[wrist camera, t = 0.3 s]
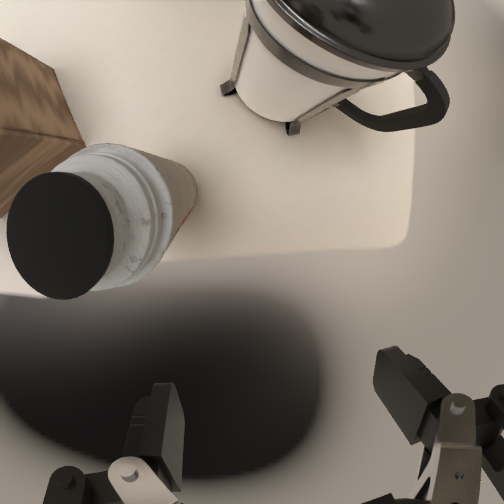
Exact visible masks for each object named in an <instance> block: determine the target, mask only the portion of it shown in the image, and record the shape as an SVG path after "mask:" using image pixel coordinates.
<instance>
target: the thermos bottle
mask: <svg viewBox="0 0 504 504" xmlns="http://www.w3.org/2000/svg"><path fill="white" fill-rule="evenodd" d="M195 200H196V184H195V181H194V179H193V176H192V175H191V173H190V172H189V171H188V170H187V169H186V168H185V167H184V166H182V165H181V164H179V163H176V162H173V161H170V160H167V159H164V158H161V157H158V156H155V155H152V154H149V153H146V152H143V151H140V150H137V149H133V148H130V147H127V146H124V145H119V144H110V143H105V144H96V145H92V146H89V147H86V148H83V149H81V150H79V151H78V152H76V153H74V154H73V155H71V156H70V157H69V158H68V159H67V160H65V161H64V162H62V163H60V164H59V165H57V166H56V167H55V168H54V169H53V170H52V171H51V172H48V173H43V174H40V175H38V176H36V177H33V178H32V179H31V180H29V181H28V182H27V183H25V184H24V186H23V187H22V188H21V189H20V190H19V191H18V193H17V194H16V196H15V198H14V200H13V202H12V204H11V207H10V210H9V214H8V219H7V242H8V248H9V251H10V255H11V258H12V260H13V263H14V265H15V267H16V269H17V270H18V272H19V273H20V275H21V276H22V278H23V279H24V280H25V281H26V282H27V283H28V284H29V285H30V286H31V287H32V288H33V289H35V290H36V291H37V292H39V293H41V294H43V295H45V296H47V297H50V298H54V299H63V300H64V299H65V300H67V299H72V298H77V297H79V296H81V295H83V294H85V293H86V292H88V291H101V290H105V289H110V288H116V287H121V286H126V285H129V284H131V283H134V282H136V281H138V280H140V279H141V278H143V277H144V276H145V275H147V274H148V273H149V272H151V270H152V269H153V268H154V267H155V266H156V265H157V264H158V263H159V262H160V260H161V258H162V257H163V255H164V253H165V252H166V250H167V248H168V247H169V245H170V243H171V242H172V240H173V238H174V237H175V235H176V233H177V232H178V230H179V229H180V227H181V225H182V224H183V222H184V221H185V219H186V217H187V216H188V214H189V213H190V211H191V209H192V208H193V206H194V203H195Z"/></svg>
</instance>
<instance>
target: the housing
mask: <svg viewBox="0 0 504 504" xmlns="http://www.w3.org/2000/svg"><path fill="white" fill-rule="evenodd" d="M85 147H86V146H85V144H84V142H83V139H82V137H81V135H80V133H79V131H78V128H77V126H76V124H75V121H74V119H73V117H72V114H71V112H70V110H69V107H68V105H67V103H66V100H65V98H64V95H63V93H62V90H61V88H60V85H59V82H58V80H57V77H56V75H55V72H54V69H52V68H51V67H49V66H47V65H46V64H44V63H42V62H41V61H39V60H37V59H36V58H34V57H32V56H31V55H29V54H27V53H26V52H24V51H22V50H20V49H19V48H17V47H15V46H13V45H12V44H10V43H8V42H6V41H5V40H3V39H1V38H0V218H2V217H3V216H4V215H5V214H6V213H7V212H8V211H9V210H10V207H11V204H12V202H13V200H14V198H15V196H16V194H17V193H18V191H19V190H20V189H21V188H22V187H23V186H24V184H25V183H27V182H28V181H29V180H31V179H32V178H33V177H36V176H38V175H40V174H43V173H48V172H51V171H52V170H53V169H54V168H55V167H56V166H57V165H59V164H60V163H62V162H64V161H65V160H67V159H68V158H69V157H70V156H71V155H73V154H74V153H76V152H78V151H79V150H81V149H83V148H85Z"/></svg>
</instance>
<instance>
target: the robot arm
mask: <svg viewBox="0 0 504 504" xmlns="http://www.w3.org/2000/svg"><path fill="white" fill-rule="evenodd" d="M373 385H374V389H375V392H376V393H377V395H378V396H379V398H380V399H381V401H382V402H383V404H384V405H385V407H386V408H387V409H388V411H389V413H390V414H391V416H392V417H393V419H394V420H395V422H396V423H397V425H398V426H399V428H400V429H401V431H402V432H403V433H404V435H405V437H406V438H407V439H408V441H409V443H410V444H411V445H413V444H415V443H418V442H420V441H422V443H423V444H424V445H423V447H422V450H421V455H420V460H419V465H418V470H417V473H416V477H415V482H414V485H413V488H412V490H411V493H410V495H409V497H408V498H403V499H394V498H393V496H392V494H391V493H389V494H387V495H384V496H382V497H379V498H376V499H373V500H371V501H368V502H365V503H362V504H478V501H479V492H480V481H481V467H482V468H483V470H484V471H485V473H486V474H487V476H488V477H489V479H490V480H491V482H492V483H493V485H494V486H495V488H496V489H497V491H498V492H499V494H500V496H501V497H502V499H503V501H504V438H503V437H502V436H501V433H502V431H503V430H504V384H503V385H497V386H495V387H494V388H493V389H492V391H491V392H490V395H489V397H486V398H482V399H476V400H472V399H471V398H470V397H469V396H467V395H465V394H461V393H453V394H452V393H451V392H450V391H449V390H448V389H447V388H446V387H445V386H444V385H443V384H442V383H441V382H440V381H439V380H438V379H437V377H436V376H435V375H434V374H432V373H431V371H430V370H429V369H428V368H426V366H425V365H424V364H423V363H422V362H421V361H420V360H419V359H418V358H415V357H414V356H412V355H410V354H407V355H405V354H404V353H403V352H402V351H401V350H400V348H399V347H397V346H392V347H389V348H385V349H382V350H379V351H378V352H377V357H376V364H375V370H374V376H373ZM184 427H185V422H184V414H183V410H182V407H181V404H180V400H179V398H178V394H177V391H176V388H175V385H174V383H160V384H154V385H153V388H152V392H151V396H150V397H142V398H141V399H140V401H139V402H138V403H137V404H136V405H135V407H134V411H133V415H132V419H131V422H130V427H129V430H128V434H127V438H126V442H125V447H124V451H123V455H122V458H120V459H118V460H116V461H115V462H114V463H113V464H112V465H111V466H110V468H109V470H107V471H104V472H98V473H91V474H83V472H82V471H81V470H80V469H78V468H76V467H73V466H64V467H61V468H59V469H57V470H56V471H54V473H53V474H52V475H51V477H50V480H49V483H48V487H47V490H46V494H45V497H44V501H43V504H183V503H180V502H179V501H178V500H177V499H176V498H175V496H174V495H173V494H172V491H175V492H176V491H177V492H180V491H181V478H182V459H183V442H184Z"/></svg>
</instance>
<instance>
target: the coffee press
mask: <svg viewBox="0 0 504 504" xmlns="http://www.w3.org/2000/svg"><path fill="white" fill-rule="evenodd" d="M454 23H455V7H454V1H453V0H246V10H245V14H244V19H243V23H242V27H241V32H240V36H239V41H238V46H237V50H236V55H235V60H234V65H233V69H232V74H231V78H230V80H228V81H227V82H225V83H223V84H222V85H220V88H221V92H222V96H229V95H232V94H235V93H238V95H239V96H240V98H241V99H242V101H243V102H244V103H245V104H246V105H247V106H248V107H249V108H250V109H251V110H252V111H254V112H255V113H257V114H259V115H260V116H262V117H265V118H267V119H270V120H274V121H280V122H285V128H286V132H287V135H288V136H290V135H295V134H299V133H300V125H301V123H302V122H303V121H304V120H306V119H308V118H310V117H312V116H315V115H317V114H319V113H321V112H322V111H324V110H326V109H327V108H329V107H330V106H333V107H336V108H337V109H339V110H340V111H342V112H343V113H344V114H346V115H347V116H349V117H350V118H352V119H353V120H355V121H356V122H358V123H360V124H362V125H363V126H366V127H368V128H370V129H373V130H377V131H382V132H393V131H400V130H406V129H412V128H418V127H424V126H429V125H432V124H435V123H438V122H439V121H441V120H442V119H443V118H444V116H445V114H446V112H447V109H448V107H449V103H450V99H449V94H448V92H447V90H446V88H445V86H444V84H443V83H442V81H441V80H440V79H439V77H438V76H437V75H436V74H435V73H434V72H433V71H429V70H428V68H427V66H428V65H430V64H432V63H434V62H435V61H437V60H438V59H439V58H440V57H441V56H442V55H443V54H444V52H445V51H446V49H447V47H448V45H449V42H450V38H451V34H452V31H453V28H454ZM402 72H405V73H407V74H408V75H409V76H410V77H411V78H412V79H413V80H415V81H416V82H415V83H416V84H417V85H418V86H419V87H420V88H421V90H422V91H423V92H424V94H425V95H426V98H427V102H428V103H426V104H424V105H421V106H417V107H413V108H409V109H405V110H402V111H398V112H394V113H390V114H387V115H382V116H376V115H372V114H369V113H367V112H364V111H363V110H361V109H359V108H358V107H357V106H355V105H354V104H352V103H351V102H350V101H348V100H347V99H346V98H347V97H349V96H351V95H353V94H355V93H357V92H358V91H359V90H361V89H363V88H366V87H370V86H373V85H376V84H379V83H382V82H384V81H386V80H389V79H391V78H393V77H395V76H397V75H399V74H400V73H402ZM389 75H390V76H389ZM387 76H389V77H387ZM385 77H387V78H385ZM383 78H384V79H383ZM320 111H321V112H320Z"/></svg>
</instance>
